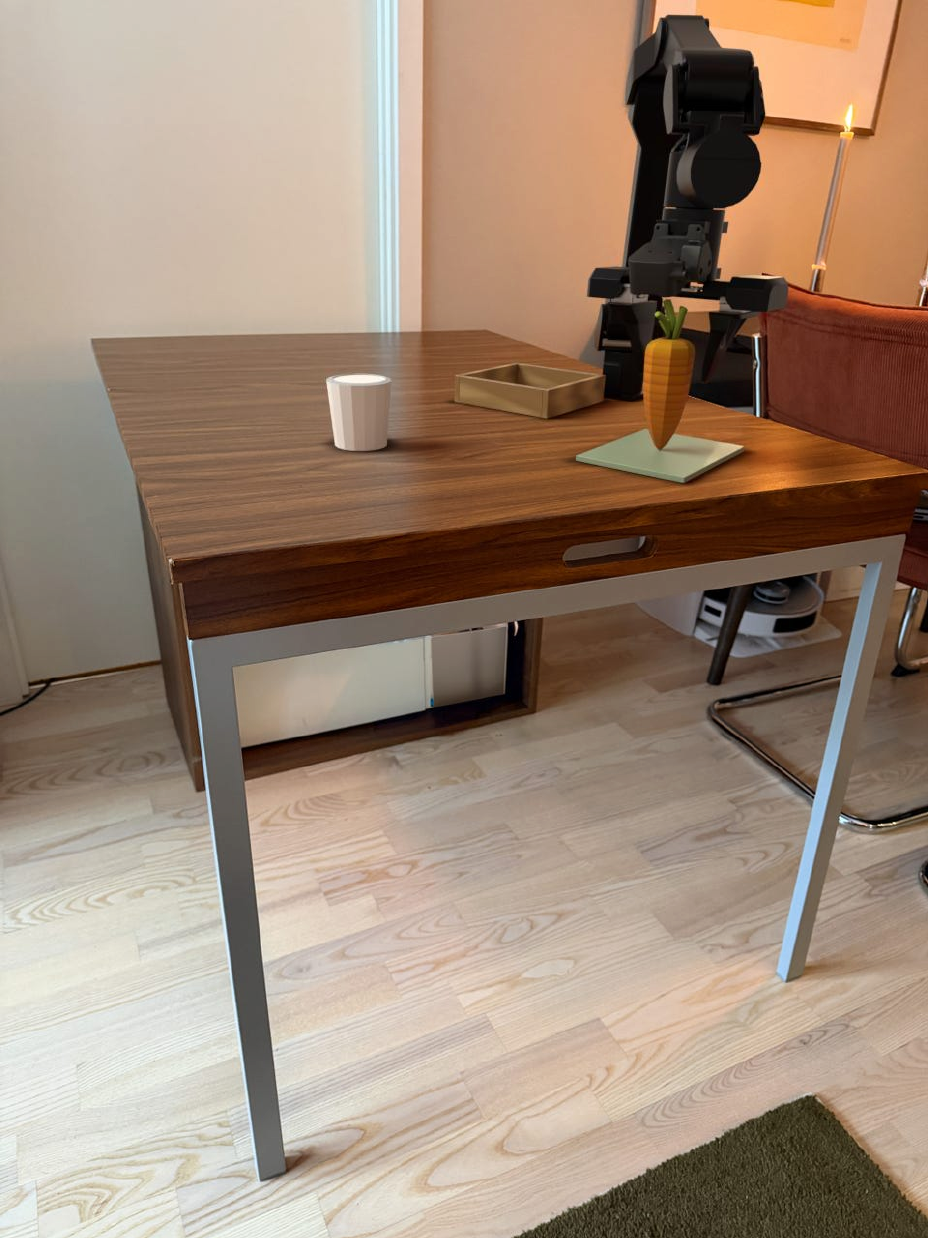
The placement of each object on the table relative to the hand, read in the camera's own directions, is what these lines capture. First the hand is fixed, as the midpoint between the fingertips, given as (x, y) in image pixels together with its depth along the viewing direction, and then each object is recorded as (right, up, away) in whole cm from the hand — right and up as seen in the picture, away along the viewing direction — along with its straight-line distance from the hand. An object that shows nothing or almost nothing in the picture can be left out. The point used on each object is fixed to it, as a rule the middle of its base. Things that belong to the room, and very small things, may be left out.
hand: (672, 378), depth 86 cm
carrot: (0, -7, +4) cm, 8 cm away
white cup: (-33, -6, +5) cm, 33 cm away
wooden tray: (-12, +5, +28) cm, 31 cm away
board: (0, -7, +4) cm, 8 cm away
